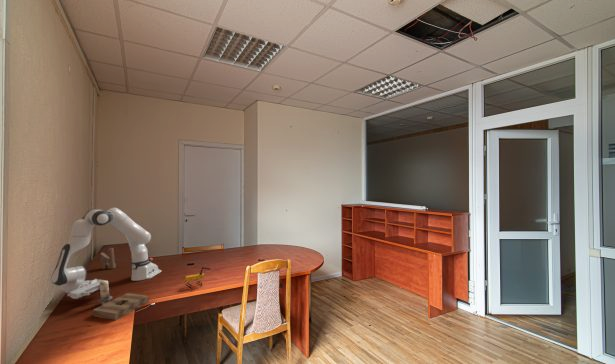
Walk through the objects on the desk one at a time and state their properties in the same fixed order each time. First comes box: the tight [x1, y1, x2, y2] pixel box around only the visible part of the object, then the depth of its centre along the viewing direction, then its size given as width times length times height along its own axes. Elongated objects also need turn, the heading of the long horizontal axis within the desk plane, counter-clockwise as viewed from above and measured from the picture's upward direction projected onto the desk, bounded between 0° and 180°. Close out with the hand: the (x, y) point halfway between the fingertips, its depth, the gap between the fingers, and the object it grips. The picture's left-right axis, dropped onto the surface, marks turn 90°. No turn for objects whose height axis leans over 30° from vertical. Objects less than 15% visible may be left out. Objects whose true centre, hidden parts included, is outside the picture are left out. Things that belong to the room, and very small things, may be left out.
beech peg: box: [97, 280, 114, 306], centre depth 178 cm, size 8×8×15 cm
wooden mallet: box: [100, 247, 117, 270], centre depth 246 cm, size 4×11×18 cm, turn 90°
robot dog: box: [183, 266, 211, 289], centre depth 200 cm, size 6×18×13 cm, turn 109°
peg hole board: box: [92, 292, 150, 321], centre depth 171 cm, size 22×18×4 cm
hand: (97, 290), depth 180 cm, fingers open, 8 cm apart
